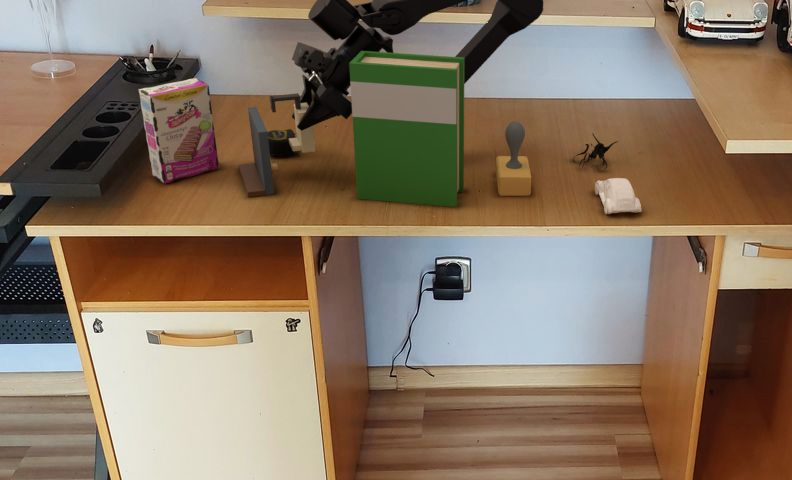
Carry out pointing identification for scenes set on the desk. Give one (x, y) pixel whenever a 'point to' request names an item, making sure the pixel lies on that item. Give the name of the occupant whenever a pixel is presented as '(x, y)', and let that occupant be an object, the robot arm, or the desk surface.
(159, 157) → the candy bar box
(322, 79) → the robot arm
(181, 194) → the desk surface
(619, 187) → the white toy vehicle
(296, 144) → the hanger
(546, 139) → the desk surface
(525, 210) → the desk surface
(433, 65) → the hardback book
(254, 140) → the door
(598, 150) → the creature
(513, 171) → the rubber stamp
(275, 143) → the tape measure
